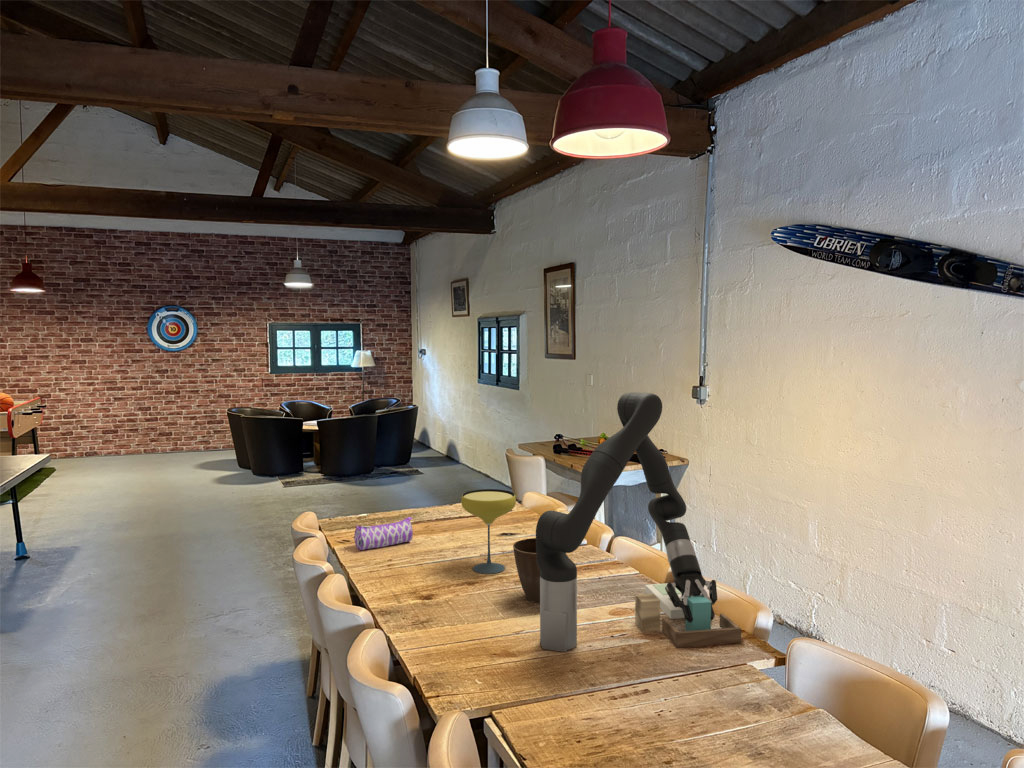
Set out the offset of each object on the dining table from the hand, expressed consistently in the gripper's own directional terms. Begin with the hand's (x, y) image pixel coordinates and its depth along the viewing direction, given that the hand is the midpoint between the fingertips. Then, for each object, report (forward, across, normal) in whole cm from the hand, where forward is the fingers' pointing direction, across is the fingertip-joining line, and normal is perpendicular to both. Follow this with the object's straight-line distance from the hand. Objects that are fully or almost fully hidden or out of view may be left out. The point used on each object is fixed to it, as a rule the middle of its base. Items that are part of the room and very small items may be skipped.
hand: (701, 620), depth 179 cm
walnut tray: (+3, 0, +3) cm, 4 cm away
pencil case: (-64, -82, +71) cm, 126 cm away
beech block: (-3, -12, +9) cm, 15 cm away
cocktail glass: (-41, -47, +47) cm, 78 cm away
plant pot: (-20, -36, +26) cm, 49 cm away
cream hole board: (-12, +3, +18) cm, 22 cm away
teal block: (+2, 0, +4) cm, 5 cm away
